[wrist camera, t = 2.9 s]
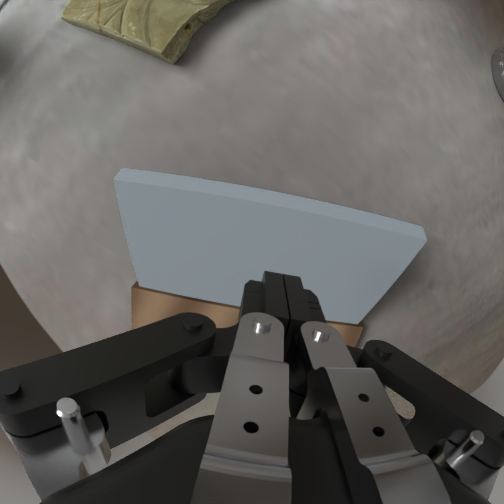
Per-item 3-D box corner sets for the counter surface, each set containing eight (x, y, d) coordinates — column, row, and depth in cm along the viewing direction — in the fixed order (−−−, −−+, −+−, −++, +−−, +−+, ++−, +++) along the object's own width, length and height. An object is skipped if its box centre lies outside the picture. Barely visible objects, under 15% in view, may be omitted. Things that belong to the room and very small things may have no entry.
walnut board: (362, 314, 33) (365, 321, 31) (333, 381, 36) (335, 389, 35) (136, 275, 32) (131, 280, 30) (137, 349, 35) (133, 356, 34)
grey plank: (422, 226, 21) (427, 240, 20) (356, 312, 32) (357, 324, 31) (122, 167, 21) (113, 179, 20) (143, 274, 31) (139, 286, 30)
